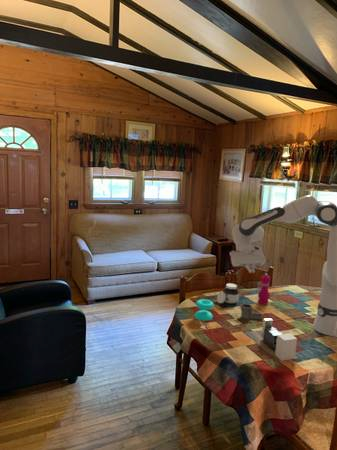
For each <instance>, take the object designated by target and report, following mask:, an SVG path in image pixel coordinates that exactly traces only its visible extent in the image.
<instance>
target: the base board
mask: <svg viewBox="0 0 337 450" xmlns="http://www.w3.org/2000/svg"><path fill="white" fill-rule="evenodd" d="M245 334H247V336H248V337H250V339H251V340H252V341H254V342H255V343H256V344H257V345H258V346H259V348H261V349H262V351H264V352H265V353H266V354H267V355H269V357H271V359H273V361H275V362H283V361H284V360H282V361H281V360H280V359H279V358H278V357H277V356H276V355H275V351H276V350H271V349H270V348H269V347H268V346H267V345H266V344H265V343H264V342H263V338H262V337H261V336H262V329H261V330H260V329H259V330H253V331H252V330H251V331H250V330H249V331H245ZM296 359H300V357H299V356H298V354H296V353H295V359H294V360H296ZM289 360H291V359H289Z"/></svg>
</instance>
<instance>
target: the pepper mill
mask: <svg viewBox="0 0 337 450" xmlns="http://www.w3.org/2000/svg"><path fill="white" fill-rule="evenodd" d="M260 280H261V282H260V284H261V288H260V290H259V292H258V294H257V297H258V300H257V302H258V304H260V305H268V304H269V299H270V292H269V286H270V282H271V277H270V275H268V273H267V272H265V273H264V275H262V276H261V277H260Z"/></svg>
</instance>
